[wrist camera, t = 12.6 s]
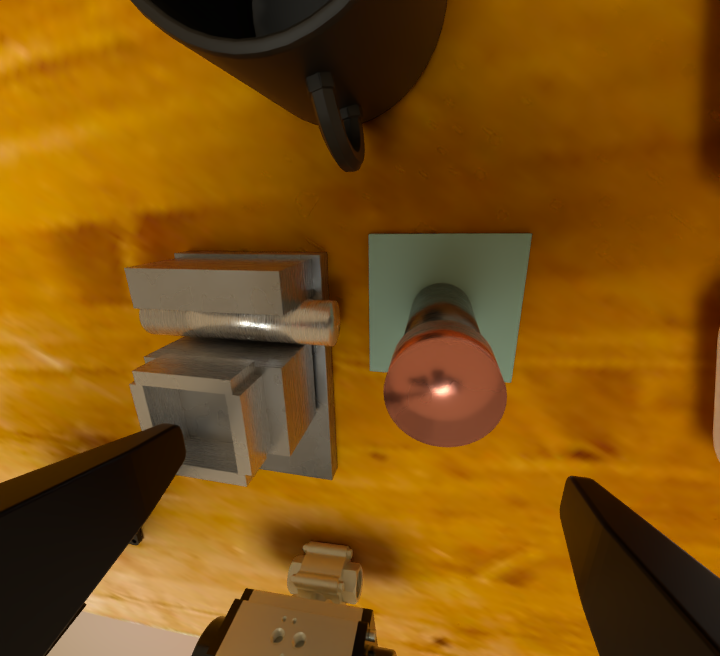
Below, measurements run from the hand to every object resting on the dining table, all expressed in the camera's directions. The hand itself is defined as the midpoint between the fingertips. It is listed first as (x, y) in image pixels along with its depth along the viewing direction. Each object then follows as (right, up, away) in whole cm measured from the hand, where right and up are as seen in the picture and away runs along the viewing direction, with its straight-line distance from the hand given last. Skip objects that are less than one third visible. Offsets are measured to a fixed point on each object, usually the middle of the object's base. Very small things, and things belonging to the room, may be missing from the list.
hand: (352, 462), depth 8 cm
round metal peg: (+5, +4, +11) cm, 12 cm away
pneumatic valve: (-2, -15, +20) cm, 25 cm away
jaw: (-6, 0, +13) cm, 15 cm away
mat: (+5, +4, +11) cm, 13 cm away
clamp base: (-6, +1, +15) cm, 16 cm away
